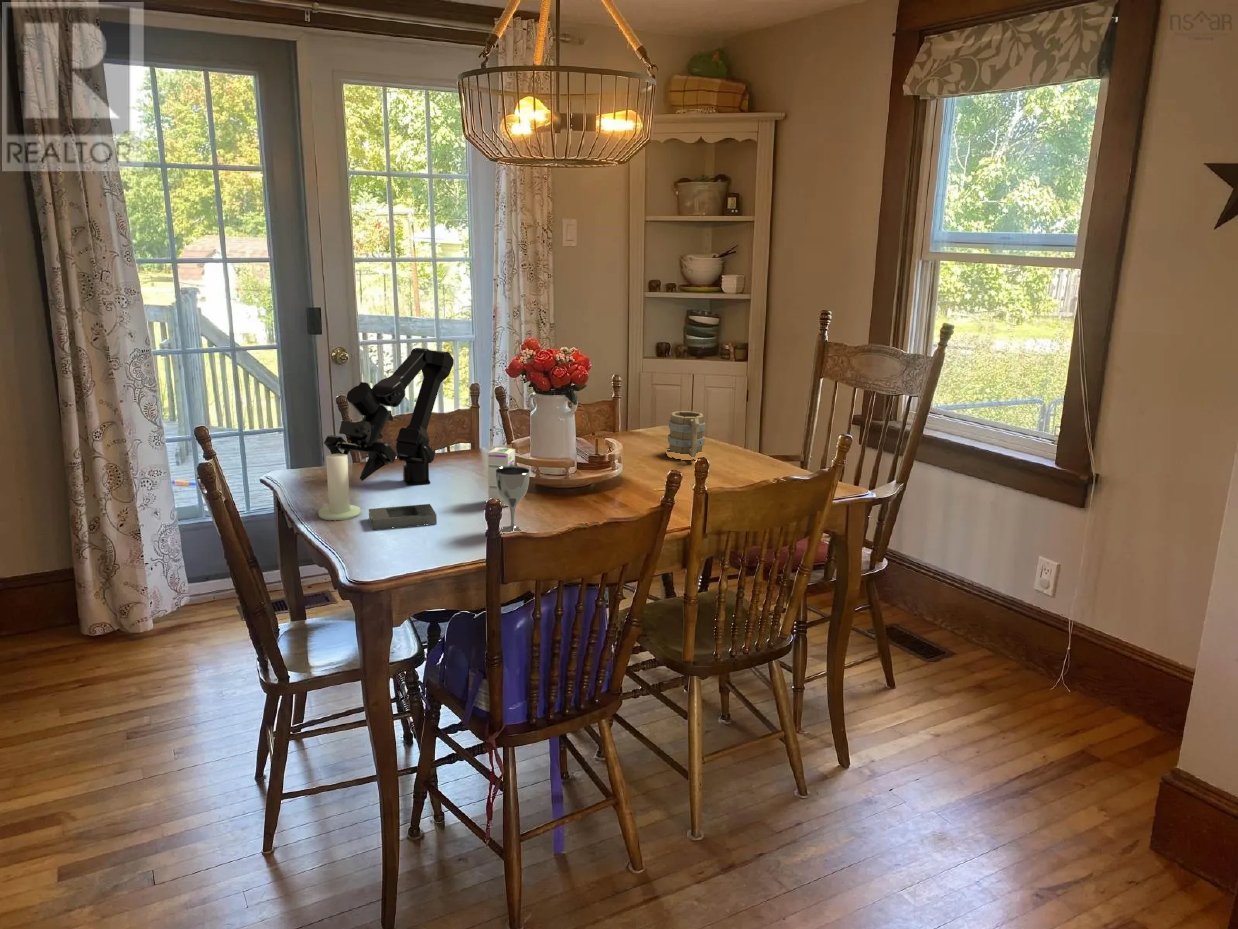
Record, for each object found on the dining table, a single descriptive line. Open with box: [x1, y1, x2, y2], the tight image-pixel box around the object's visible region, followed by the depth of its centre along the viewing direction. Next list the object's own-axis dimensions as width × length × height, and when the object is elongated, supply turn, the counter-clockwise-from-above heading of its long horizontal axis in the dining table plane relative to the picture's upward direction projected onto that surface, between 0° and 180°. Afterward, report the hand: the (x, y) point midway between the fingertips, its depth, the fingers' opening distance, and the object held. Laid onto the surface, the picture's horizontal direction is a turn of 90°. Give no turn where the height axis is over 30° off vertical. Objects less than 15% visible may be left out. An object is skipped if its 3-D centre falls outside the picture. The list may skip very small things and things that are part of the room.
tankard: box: [666, 410, 706, 457], centre depth 284 cm, size 20×13×15 cm, turn 6°
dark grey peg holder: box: [368, 503, 438, 531], centre depth 217 cm, size 15×9×2 cm, turn 112°
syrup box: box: [487, 447, 516, 507], centre depth 233 cm, size 6×6×14 cm
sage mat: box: [318, 504, 361, 522], centre depth 221 cm, size 10×10×1 cm
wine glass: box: [496, 465, 530, 532], centre depth 212 cm, size 8×8×15 cm
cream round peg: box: [325, 453, 351, 514], centre depth 219 cm, size 5×5×14 cm
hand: (346, 477), depth 222 cm, fingers open, 9 cm apart
